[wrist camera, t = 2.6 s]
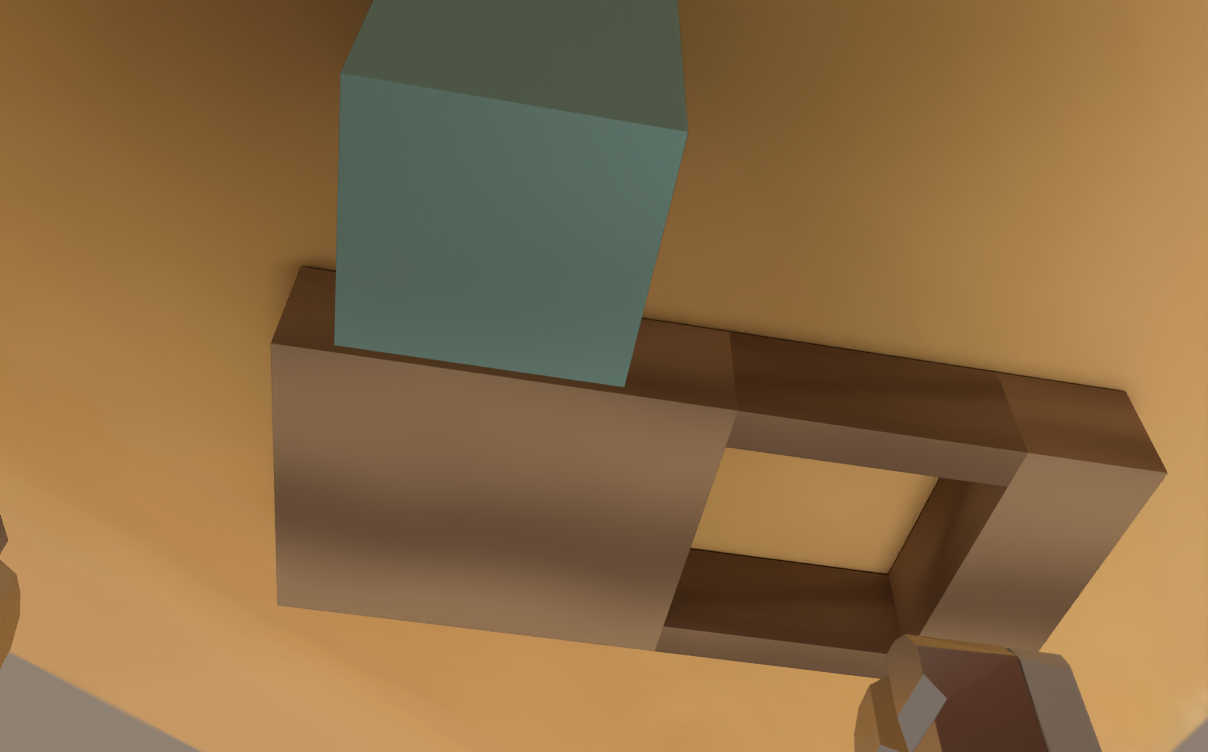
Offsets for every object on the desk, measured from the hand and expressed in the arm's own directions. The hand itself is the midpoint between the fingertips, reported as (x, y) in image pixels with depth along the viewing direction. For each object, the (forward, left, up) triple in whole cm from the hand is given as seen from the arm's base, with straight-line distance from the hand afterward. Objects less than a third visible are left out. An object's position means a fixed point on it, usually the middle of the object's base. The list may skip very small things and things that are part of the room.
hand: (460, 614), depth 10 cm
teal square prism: (-1, 0, -12) cm, 12 cm away
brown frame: (+9, +5, -12) cm, 16 cm away
